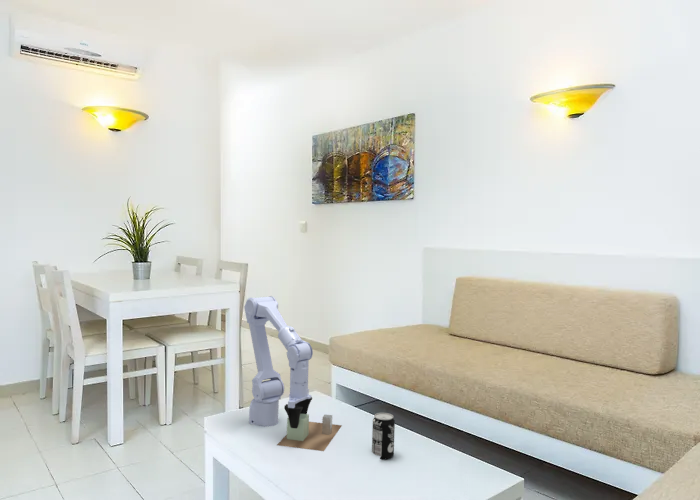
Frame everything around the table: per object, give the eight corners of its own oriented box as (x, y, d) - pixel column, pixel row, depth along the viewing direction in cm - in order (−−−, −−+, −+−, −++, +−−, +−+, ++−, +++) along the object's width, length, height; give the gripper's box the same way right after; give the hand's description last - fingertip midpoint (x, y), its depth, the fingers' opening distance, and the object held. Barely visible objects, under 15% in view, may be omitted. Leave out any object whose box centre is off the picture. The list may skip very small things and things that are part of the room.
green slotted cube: (286, 439, 162) (287, 418, 162) (292, 432, 167) (293, 412, 167) (303, 441, 161) (303, 420, 161) (308, 434, 166) (308, 414, 166)
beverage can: (393, 451, 158) (395, 412, 157) (393, 461, 151) (394, 420, 151) (372, 450, 158) (373, 411, 158) (371, 459, 152) (372, 419, 151)
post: (322, 433, 167) (322, 417, 167) (324, 431, 170) (324, 414, 170) (329, 434, 167) (330, 417, 166) (331, 431, 169) (332, 415, 169)
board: (276, 448, 157) (276, 445, 157) (300, 423, 179) (300, 420, 179) (323, 455, 154) (323, 451, 154) (341, 428, 175) (342, 425, 175)
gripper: (303, 388, 156) (302, 433, 156) (317, 376, 170) (316, 417, 170) (281, 386, 157) (280, 430, 158) (297, 374, 171) (296, 415, 172)
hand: (298, 423), depth 164 cm, fingers open, 7 cm apart
